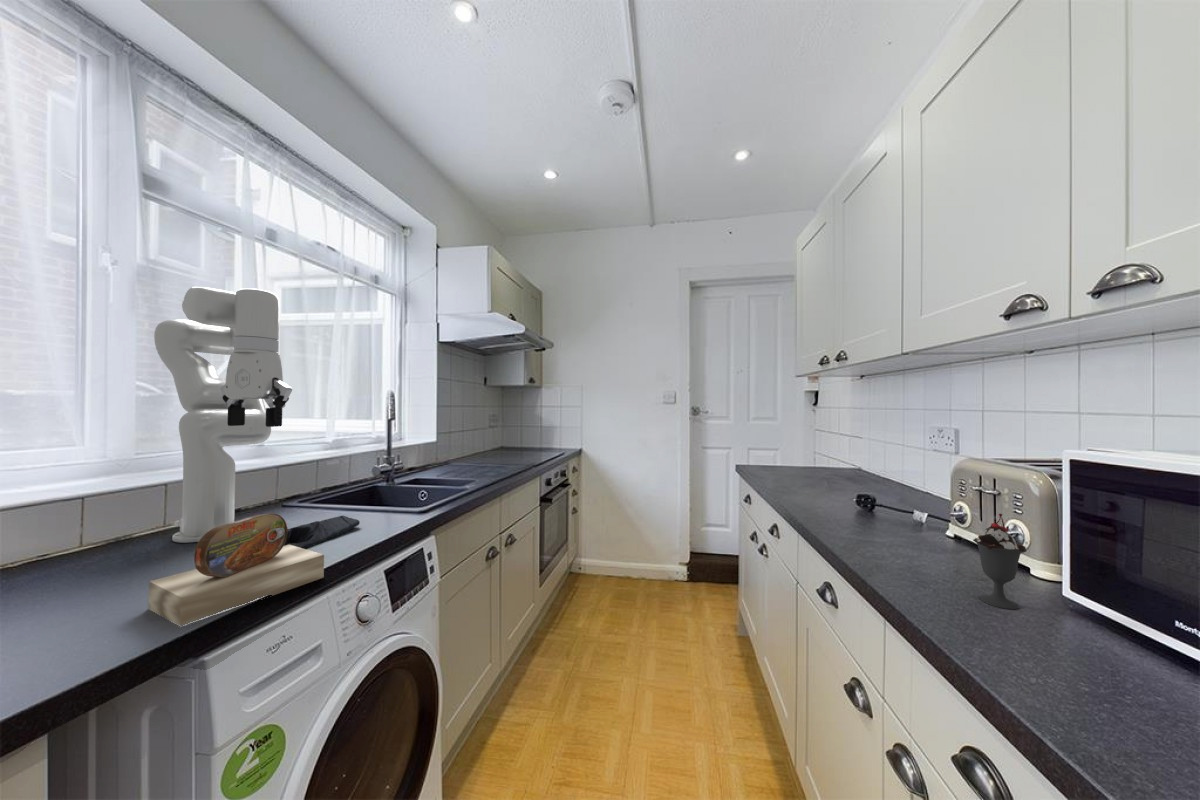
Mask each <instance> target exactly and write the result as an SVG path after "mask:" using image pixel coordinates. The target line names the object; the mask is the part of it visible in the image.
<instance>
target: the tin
mask: <svg viewBox="0 0 1200 800" xmlns="http://www.w3.org/2000/svg"><path fill="white" fill-rule="evenodd" d="M287 525H288V524H287V522H286V520H285V518H284V517H283V516H281V515H280V514H277V513H264V514H256V515H253V516H250V517H249V516H248V517H246V518H242V519H239V520H236V521H234V522H232V523H229V524H225V525H222V526H218V527H215V528H213V529H211V530H210V531H208V532H207V533H206V534H205V535H204V536H203V537H202V538H201V539H200V540H199V542H197V544H196V546H195V549H194V559H193V560H194V564H195V565H194V566H195V569H197V570H198V571H199V572H200V573H201V574H203V575H206V576H212V577H216V576H217V577H228V576H231V575H234V574H236V573H238V572H241V571H243V570H245V569H248V568H250V567H252V566H255V565H257V564H260V563H262V562H264V561H267V560H269V559H271V558H273V557H274V556H276V555H277V554H278V553H279V552H280V551H281V549H282V548H283V546H284V544H285V542H286V538H287V532H288V531H287V529H288V526H287Z"/></svg>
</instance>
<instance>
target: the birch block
mask: <svg viewBox="0 0 1200 800" xmlns="http://www.w3.org/2000/svg"><path fill="white" fill-rule="evenodd" d="M324 566H325V554H323V553H320V552H316V551H313V550H310V549H306V548H300V547H296V546H293V545H286V546H283V548H282V549H281V551H280V552H279V553H278V554H277V555H276V556H274V557H273V558H271V559H269V560H267V561H264V562H262V563H260V564H257V565H255V566H252V567H250V568H248V569H245V570H243V571H241V572H238V573H236V574H234V575H231V576H228V577H217V576H216V577H212V576H206V575H203V574H201V573H200V572H199V571H198V570H197V569H196V568H195V569H192V570H191V569H190V570H188V571H184V572H180V573H176V574H172V575H169V576H168V575H167V576H164V577H161V578H156V579H154V580H150V581H148V582H149V583H148V610H149V611H151V612H153V613H154V612H155V614H156V613H157V614H156V615H158V614H159V616H160V615H161V616H163V617H164V619H165V618H166V619H165V620H167V619H168V620H170V621H172V622H174V623H176V624H178V625H180V626H183V625H185V624H188V623H190V622H193V621H196V620H199V619H201V618H204V617H206V616H210V615H213V614H216V613H218V612H221V611H223V610H226V609H229V608H232V607H236V606H239V605H242V604H245V603H248V602H250V601H253V600H255V599H257V598H261V597H263V596H266V595H272V596H275V595H278V594H281V593H284V592H286V591H290V590H292V589H296V588H298V587H301V586H305V585H306V584H309V583H312V582H314V581H315V582H316V581H318V580H320V579H321V580H322V579H324V577H325V575H324V574H325V567H324ZM272 596H271V597H272ZM161 616H160V617H161ZM163 617H162V618H163ZM168 620H167V621H168ZM170 621H169V622H170ZM172 622H171V623H172Z"/></svg>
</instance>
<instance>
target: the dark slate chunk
mask: <svg viewBox="0 0 1200 800" xmlns="http://www.w3.org/2000/svg"><path fill="white" fill-rule="evenodd" d="M360 524H361V523H360V520H359V519H357V518H353V517H349V516H346V515H339V516H335V517H330V518H327V519H322V520H318V521H317V520H315V521H313V522H310V523H309V522H308V523H306V524H305V523H304V524H301V525H297V526H294V527H291V528H287V531H288V532H287V538H286V542H285V544H284V546H286V545H293V546H296V547H300V548H303V549H306V548H309V547H312V546H315V545H318V544H319V543H323V542H324V541H327V540H330V539H333V538H335V537H338V536H340V535H342V534H346V533H348V532H350V531H351V530H352V529H354V528H356V527H358V526H359V525H360Z"/></svg>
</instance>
